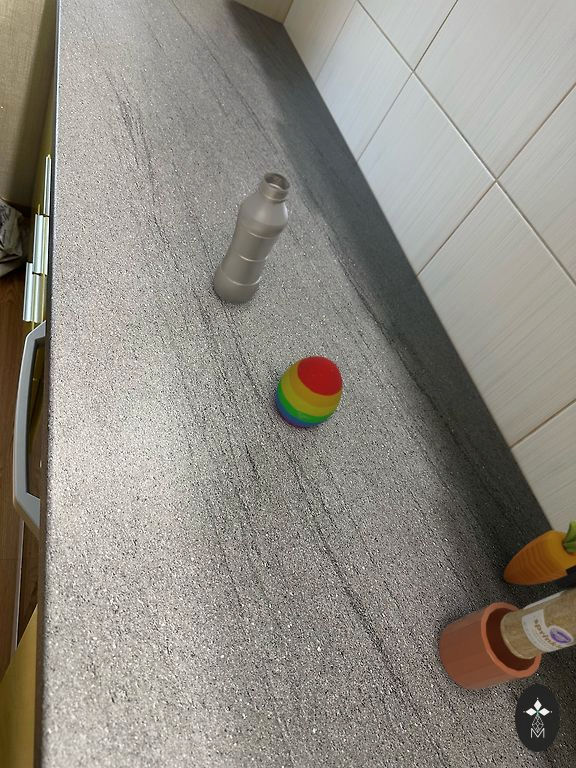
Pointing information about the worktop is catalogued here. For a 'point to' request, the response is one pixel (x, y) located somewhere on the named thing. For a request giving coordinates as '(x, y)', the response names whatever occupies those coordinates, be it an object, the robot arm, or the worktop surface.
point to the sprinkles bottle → (541, 625)
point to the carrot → (543, 558)
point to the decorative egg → (309, 391)
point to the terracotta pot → (482, 650)
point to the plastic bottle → (253, 239)
